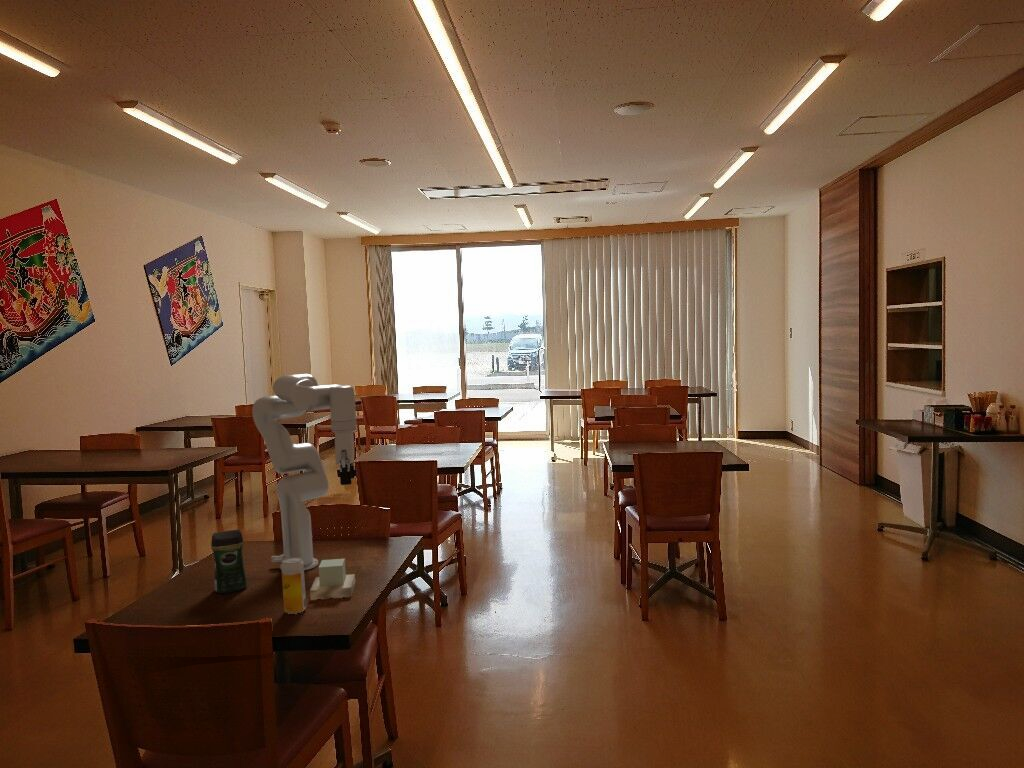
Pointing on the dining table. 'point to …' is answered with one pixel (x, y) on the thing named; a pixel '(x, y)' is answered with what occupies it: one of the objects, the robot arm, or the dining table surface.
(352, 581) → the slab
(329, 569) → the cube
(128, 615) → the dining table surface
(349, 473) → the robot arm
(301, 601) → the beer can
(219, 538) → the coffee jar
